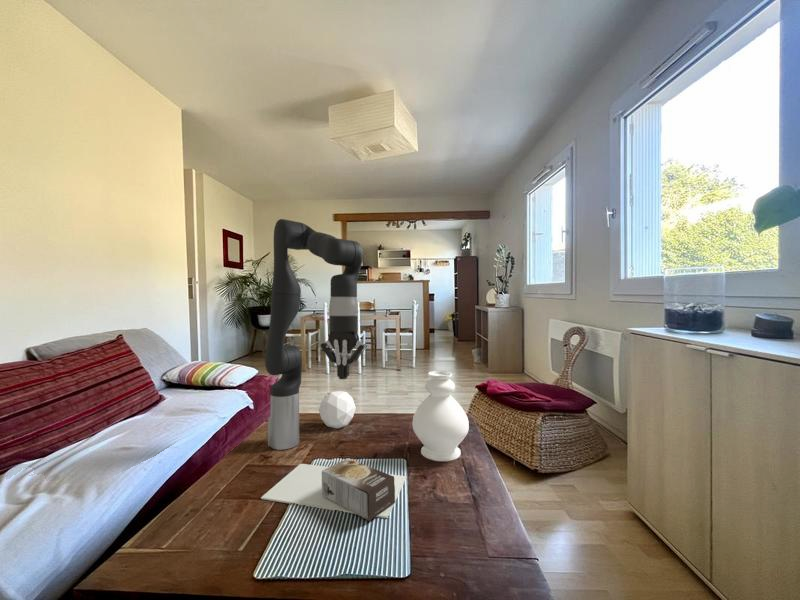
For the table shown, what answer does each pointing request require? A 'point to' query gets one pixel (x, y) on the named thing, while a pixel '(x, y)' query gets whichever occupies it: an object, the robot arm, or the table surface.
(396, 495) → the mat
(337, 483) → the coffee box
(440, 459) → the decorative vase
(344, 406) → the geodesic sphere
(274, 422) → the robot arm
